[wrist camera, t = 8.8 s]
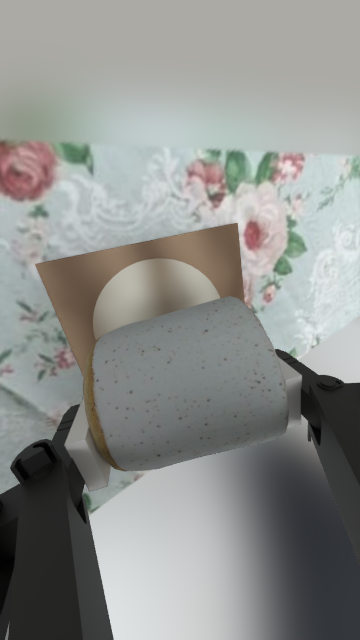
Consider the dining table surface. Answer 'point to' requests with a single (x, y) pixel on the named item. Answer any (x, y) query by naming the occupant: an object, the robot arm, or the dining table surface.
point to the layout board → (141, 282)
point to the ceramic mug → (184, 387)
